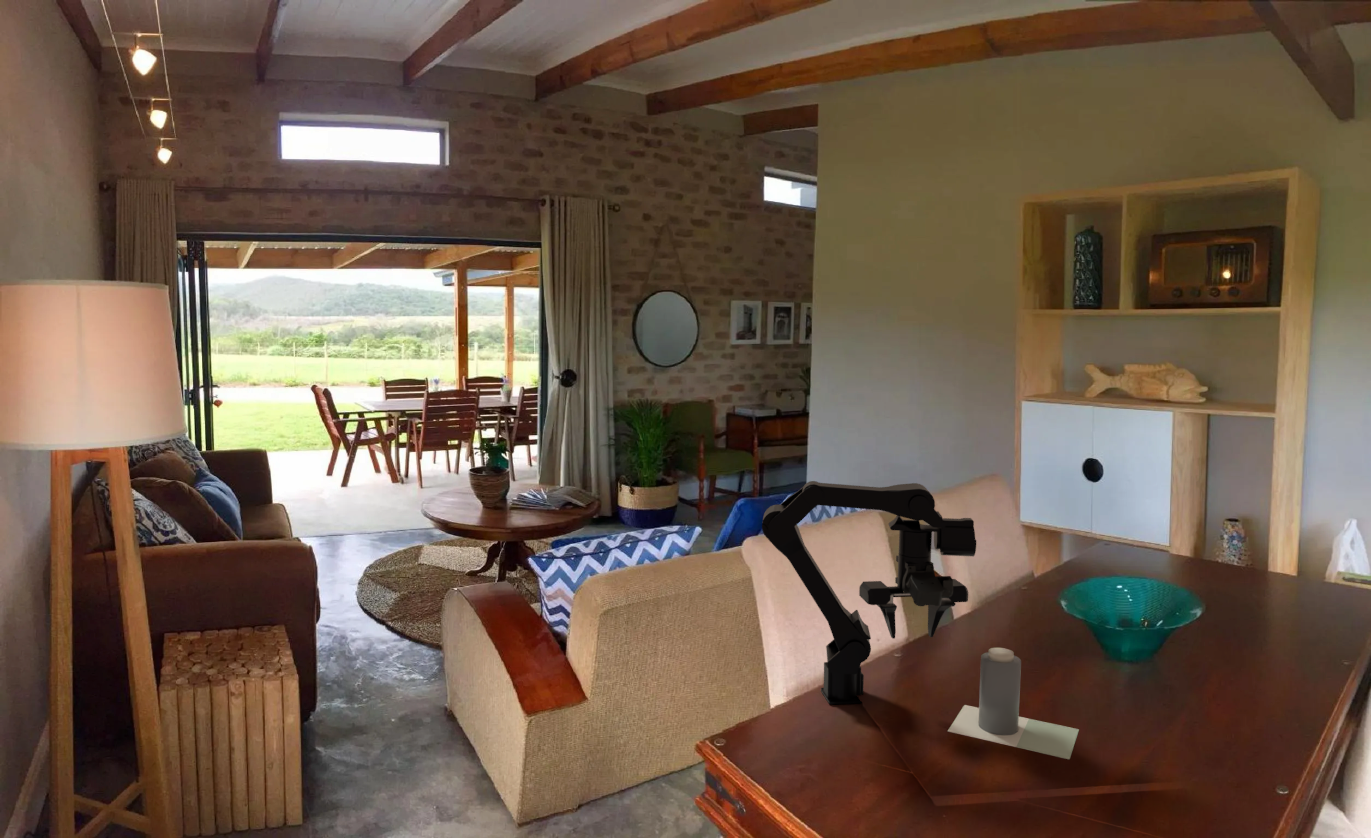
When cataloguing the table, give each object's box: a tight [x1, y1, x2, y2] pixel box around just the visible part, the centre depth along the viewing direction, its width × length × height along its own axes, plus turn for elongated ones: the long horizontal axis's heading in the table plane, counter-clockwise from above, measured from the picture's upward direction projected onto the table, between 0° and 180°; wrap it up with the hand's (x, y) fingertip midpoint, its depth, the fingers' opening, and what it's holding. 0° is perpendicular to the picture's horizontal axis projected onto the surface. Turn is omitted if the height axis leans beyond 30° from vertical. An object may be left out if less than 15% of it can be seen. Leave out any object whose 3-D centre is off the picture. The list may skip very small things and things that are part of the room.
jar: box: [978, 647, 1022, 735], centre depth 149 cm, size 6×6×13 cm
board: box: [947, 704, 1080, 760], centre depth 149 cm, size 19×12×1 cm, turn 59°
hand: (911, 637), depth 162 cm, fingers open, 7 cm apart
